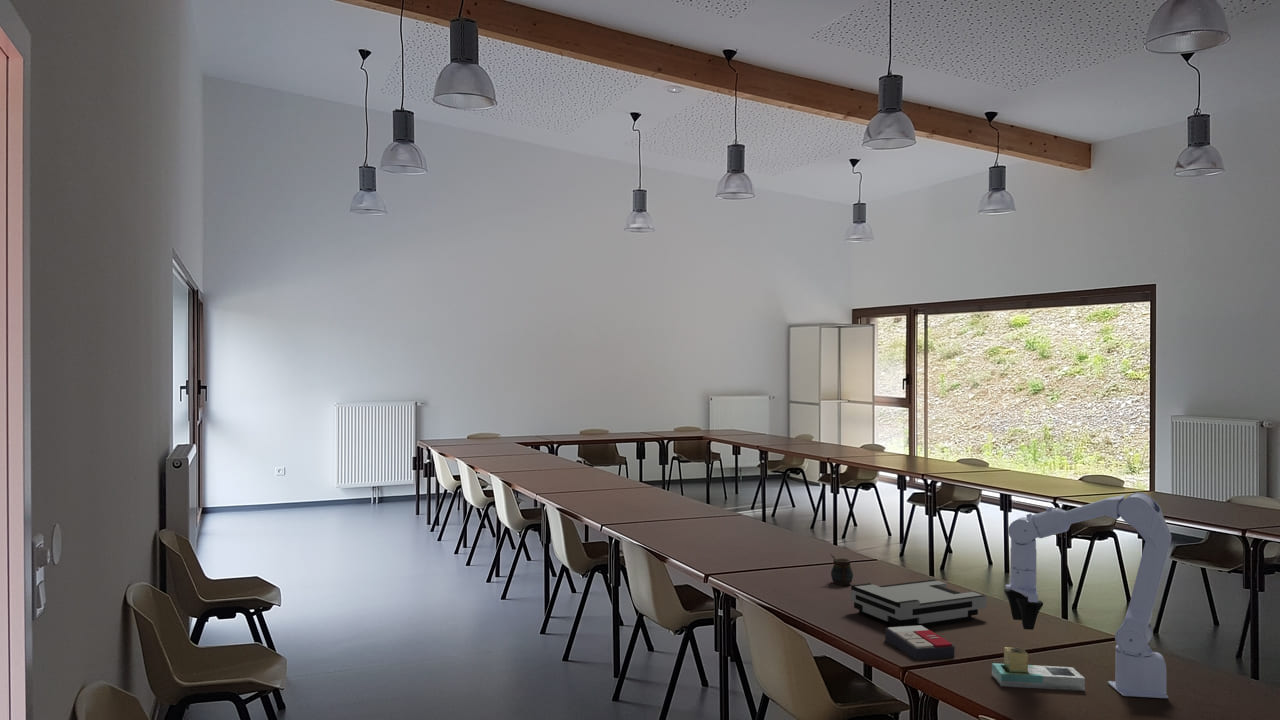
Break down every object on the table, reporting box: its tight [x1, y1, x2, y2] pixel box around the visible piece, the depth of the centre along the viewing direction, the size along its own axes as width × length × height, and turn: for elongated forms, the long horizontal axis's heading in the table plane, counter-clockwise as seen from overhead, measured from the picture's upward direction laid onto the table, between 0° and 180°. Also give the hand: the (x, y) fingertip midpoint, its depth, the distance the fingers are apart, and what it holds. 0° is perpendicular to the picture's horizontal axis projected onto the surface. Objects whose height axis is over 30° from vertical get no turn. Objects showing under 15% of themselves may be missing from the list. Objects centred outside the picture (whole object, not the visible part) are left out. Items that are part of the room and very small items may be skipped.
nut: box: [1003, 646, 1029, 674], centre depth 193 cm, size 4×4×6 cm
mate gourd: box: [829, 553, 854, 586], centre depth 281 cm, size 7×8×10 cm
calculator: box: [884, 625, 956, 661], centre depth 216 cm, size 11×4×15 cm
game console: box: [850, 579, 988, 629], centre depth 245 cm, size 21×32×8 cm, turn 115°
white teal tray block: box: [991, 662, 1086, 692], centre depth 193 cm, size 18×7×3 cm, turn 83°
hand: (1022, 624), depth 203 cm, fingers open, 7 cm apart
